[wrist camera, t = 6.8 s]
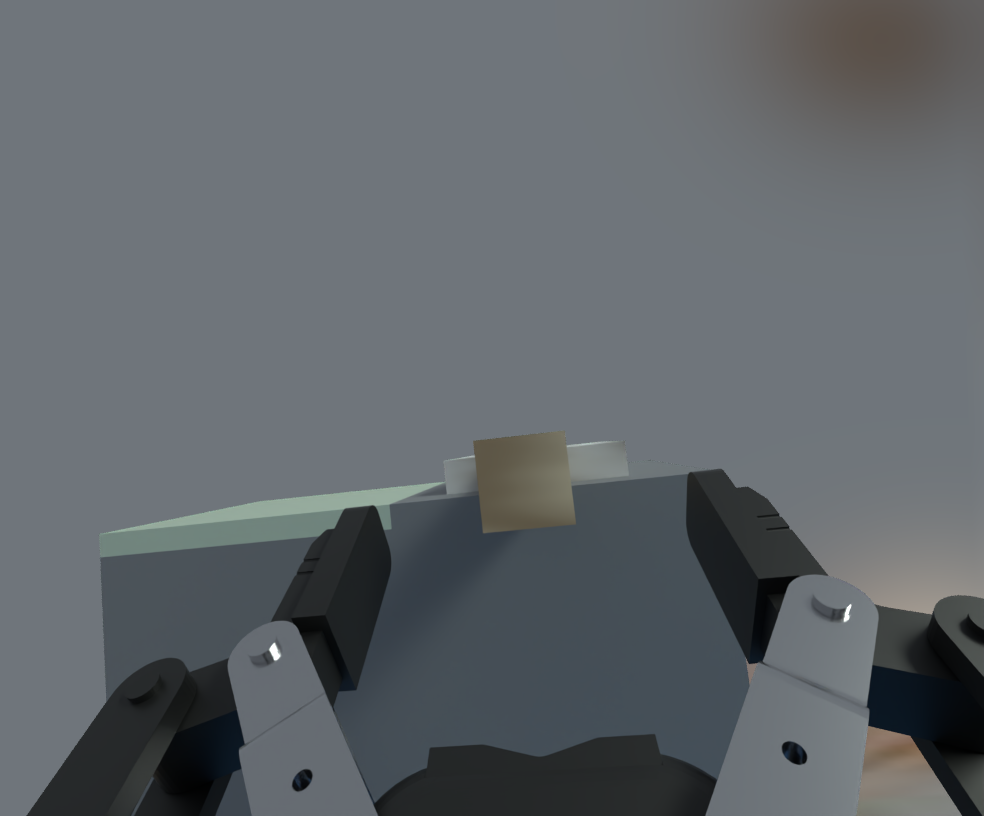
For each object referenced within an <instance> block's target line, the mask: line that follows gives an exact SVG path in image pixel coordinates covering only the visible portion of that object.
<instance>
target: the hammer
mask: <svg viewBox="0 0 984 816" xmlns="http://www.w3.org/2000/svg"><path fill="white" fill-rule="evenodd" d="M473 443H474V453H475V456H469V457H463V458H458V459H451V460H446V461H444V470H445V481H446V491H447V494H457V493H466V492H476V491H479V499H480V509H481V518H482V527H483V533H490V532H501V531H511V530H522V529H533V528H543V527H554V526H564V525H575V524H576V519H575V511H574V503H573V495H572V487H571V482H573V481H583V480H593V479H602V478H612V477H622V476H629V470H628V463H627V456H626V449H625V441H610V442H594V443H585V444H576V445H567V446H566V438H565V431H557V432H548V433H540V434H530V435H522V436H513V437H504V438H496V439H487V440H478V441H473Z"/></svg>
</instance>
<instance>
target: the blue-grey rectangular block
mask: <svg viewBox="0 0 984 816" xmlns="http://www.w3.org/2000/svg"><path fill="white" fill-rule="evenodd" d="M628 470H629V476H622V477H612V478H602V479H593V480H583V481H573V482H571V487H572V495H573V503H574V511H575V519H576V524H575V525H564V526H554V527H543V528H533V529H522V530H511V531H501V532H490V533H483V527H482V518H481V509H480V499H479V491H476V492H466V493H457V494H447V491H446V482H440V483H430V484H421V485H412V486H402V487H392V488H383V489H374V490H364V491H354V492H346V493H337V494H326V495H317V496H308V497H298V498H288V499H279V500H269V501H260V502H255V503H250V504H245V505H240V506H235V507H230V508H225V509H221V510H215V511H210V512H206V513H201V514H196V515H191V516H186V517H181V518H177V519H172V520H166V521H161V522H156V523H151V524H147V525H142V526H137V527H132V528H127V529H122V530H117V531H113V532H107V533H102V534H100V558H101V583H102V607H103V631H104V654H105V678H106V702H107V701H108V699H109V698H110V696H111V695H112V694H113V692H114V691H115V690H116V689H117V687H118V686H119V685H120V684H121V683H122V682H123V681H124V680H125V679H127V678H128V677H129V676H130V675H132V674H133V673H134V672H136V671H137V670H139V669H140V668H142V667H144V666H145V665H147V664H149V663H152V662H154V661H157V660H160V659H164V658H177V659H180V660H181V661H183V662H184V664H185V666H186V667H187V669H188V670H189V672H191V671H194V670H197V669H200V668H202V667H205V666H208V665H211V664H214V663H216V662H219V661H222V660H225V659H227V658H229V657H230V655H231V653H232V651H233V649H234V648H235V647H236V645H237V644H238V643H239V642H240V641H241V640H242V639H243V638H244V637H245V636H246V635H247V634H249V633H250V632H251V631H253V630H255V629H256V628H258V627H260V626H262V625H264V624H267V623H270V622H271V620H272V618H273V616H274V614H275V612H276V610H277V609H278V607H279V605H280V603H281V601H282V599H283V597H284V595H285V593H286V591H287V590H288V588H289V586H290V584H291V582H292V580H293V578H294V576H296V575H297V571H298V569H299V567H300V565H301V563H303V562H304V560H303V559H304V557H305V555H306V554H307V552H308V550H309V548H310V546H311V544H312V543H313V542H314V541H315V540H316V539H317V538H318V537H319V536H320V535H321V534H322V533H323V532H324V531H325V530H326V529H334V528H335V526H336V524H337V522H338V520H339V518H340V516H341V514H342V512H343V510H344V509H345V508H352V507H361V506H370V505H374V506H375V507H376V508H377V510H378V513H379V516H380V519H381V522H382V526H383V529H384V532H385V535H386V539H387V542H388V545H389V548H390V553H391V573H390V577H389V580H388V584H387V587H386V591H385V594H384V597H383V601H382V604H381V608H380V611H379V615H378V618H377V621H376V625H375V628H374V632H373V635H372V639H371V642H370V645H369V649H368V652H367V656H366V659H365V663H364V666H363V669H362V673H361V676H360V680H359V683H358V687H357V690H354V691H341V692H338V694H337V697H336V700H335V703H334V709H335V712H336V714H337V716H338V718H339V721H340V723H341V725H342V728H343V730H344V732H345V734H346V737H347V739H348V741H349V744H350V746H351V748H352V750H353V753H354V755H355V757H356V760H357V762H358V764H359V767H360V769H361V771H362V773H363V776H364V778H365V780H366V783H367V785H368V787H369V789H370V792H371V794H372V796H373V798H374V800H375V802H376V801H377V800H378V799H379V798H380V797H381V796H382V795H383V794H385V793H386V792H387V791H388V790H389V789H391V788H392V787H393V786H394V785H396V784H397V783H399V782H400V781H402V780H403V779H405V778H406V777H408V776H410V775H412V774H414V773H416V772H418V771H420V770H422V769H425V768H427V763H428V756H429V749H430V748H431V747H447V746H464V745H480V744H484V745H488V746H493V747H497V748H501V749H506V750H510V751H515V752H519V753H523V754H528V755H532V756H538V757H541V756H547V755H549V754H552V753H555V752H558V751H561V750H564V749H566V748H569V747H572V746H575V745H578V744H581V743H583V742H586V741H589V740H592V739H595V738H598V737H613V736H630V735H646V734H655V736H656V740H657V744H658V747H659V751H660V754H663V755H667V756H671V757H674V758H677V759H680V760H682V761H685V762H687V763H690V764H692V765H694V766H696V767H698V768H700V769H702V770H703V771H705V772H707V773H708V774H710V775H711V776H713V777H715V778H716V779H717V780H718V777H719V774H720V771H721V768H722V765H723V763H724V760H725V757H726V754H727V751H728V748H729V745H730V742H731V739H732V736H733V733H734V730H735V727H736V724H737V721H738V718H739V716H740V713H741V710H742V707H743V704H744V701H745V698H746V695H747V692H748V689H749V686H750V685H749V678H748V672H747V665H746V659H745V655H744V653H743V651H742V649H741V647H740V645H739V643H738V641H737V639H736V637H735V635H734V633H733V631H732V628H731V626H730V624H729V622H728V620H727V618H726V616H725V614H724V612H723V610H722V608H721V606H720V604H719V602H718V600H717V598H716V596H715V594H714V592H713V590H712V588H711V586H710V584H709V582H708V580H707V578H706V576H705V573H704V571H703V569H702V567H701V565H700V563H699V561H698V559H697V557H696V555H695V553H694V551H693V549H692V547H691V544H690V541H689V538H688V534H687V528H686V503H687V477H688V474H689V472H695V471H704V470H708V469H701V468H696V467H688V466H683V465H677V464H670V463H664V462H657V461H651V460H648V461H640V462H629V463H628ZM153 779H154V778H153V777H152V778H151V779H150V781H149V783H148V785H147V787H146V789H145V791H144V792H143V794H142V796H141V798H140V800H139V802H138V804H137V805H136V807H135V809H134V811H133V813H132V815H131V816H134V815H135V813H136V811H137V809H138V807H139V805H140V804H141V802H142V800H143V798H144V796H145V794H146V792H147V790H148V789H149V787H150V785H151V783H152V781H153ZM215 816H252V814H251V809H250V805H249V800H248V795H247V791H246V786H245V781H244V777H243V772H242V769H240V770H237V771H235V772H233V774H232V776H231V779H230V781H229V783H228V786H227V788H226V791H225V793H224V796H223V798H222V801H221V803H220V806H219V808H218V810H217V813H216V815H215Z"/></svg>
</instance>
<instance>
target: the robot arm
mask: <svg viewBox="0 0 984 816" xmlns="http://www.w3.org/2000/svg"><path fill="white" fill-rule="evenodd" d="M686 528H687V534H688V538H689V541H690V544H691V547H692V549H693V551H694V553H695V555H696V557H697V559H698V561H699V563H700V565H701V567H702V569H703V571H704V573H705V576H706V578H707V580H708V582H709V584H710V586H711V588H712V590H713V592H714V594H715V596H716V598H717V600H718V602H719V604H720V606H721V608H722V610H723V612H724V614H725V616H726V618H727V620H728V622H729V624H730V626H731V628H732V631H733V633H734V635H735V637H736V639H737V641H738V643H739V645H740V647H741V649H742V651H743V653H744V655H745V657H746V659H747V661H748V663H749V664H753V663H758V664H757V666H756V669H755V672H754V674H753V677H752V681H751V684H750V686H749V689H748V692H747V695H746V698H745V701H744V704H743V707H742V710H741V713H740V716H739V718H738V721H737V724H736V727H735V730H734V733H733V736H732V739H731V742H730V745H729V748H728V751H727V754H726V757H725V760H724V763H723V765H722V768H721V771H720V774H719V777H718V780H717V779H716V778H715V777H713V776H711V775H710V774H708V773H707V772H705V771H703V770H702V769H700V768H698V767H696V766H694V765H692V764H690V763H687V762H685V761H682V760H680V759H677V758H674V757H671V756H667V755H663V754H660V751H659V747H658V744H657V740H656V736H655V734H646V735H630V736H613V737H598V738H595V739H592V740H589V741H586V742H583V743H581V744H578V745H575V746H572V747H569V748H566V749H564V750H561V751H558V752H555V753H552V754H549V755H547V756H541V757H538V756H532V755H528V754H523V753H519V752H515V751H510V750H506V749H501V748H497V747H493V746H488V745H484V744H480V745H464V746H447V747H431V748H430V749H429V756H428V763H427V768H425V769H422V770H420V771H418V772H416V773H414V774H412V775H410V776H408V777H406V778H405V779H403V780H402V781H400V782H399V783H397V784H396V785H394V786H393V787H392V788H391V789H389V790H388V791H387V792H386V793H385V794H383V795H382V796H381V797H380V798H379V799H378V800H377V801H376V802H375V800H374V798H373V796H372V794H371V792H370V789H369V787H368V785H367V783H366V780H365V778H364V776H363V773H362V771H361V769H360V767H359V764H358V762H357V760H356V757H355V755H354V753H353V750H352V748H351V746H350V744H349V741H348V739H347V737H346V734H345V732H344V730H343V728H342V725H341V723H340V721H339V718H338V716H337V714H336V712H335V709H334V703H335V700H336V697H337V694H338V692H341V691H354V690H357V687H358V683H359V680H360V676H361V673H362V669H363V666H364V663H365V659H366V656H367V652H368V649H369V645H370V642H371V639H372V635H373V632H374V628H375V625H376V621H377V618H378V615H379V611H380V608H381V604H382V601H383V597H384V594H385V591H386V587H387V584H388V580H389V577H390V573H391V553H390V548H389V545H388V542H387V539H386V535H385V532H384V529H383V526H382V522H381V519H380V516H379V513H378V510H377V508H376V507H375V506H374V505H370V506H361V507H352V508H345V509H344V510H343V512H342V514H341V516H340V518H339V520H338V522H337V524H336V526H335V528H334V529H326V530H325V531H324V532H323V533H322V534H321V535H320V536H319V537H318V538H317V539H316V540H315V541H314V542H313V543H312V544H311V546H310V548H309V550H308V552H307V554H306V555H305V557H304V559H303V560H304V562H303V563H301V565H300V567H299V569H298V571H297V575H296V576H294V578H293V580H292V582H291V584H290V586H289V588H288V590H287V591H286V593H285V595H284V597H283V599H282V601H281V603H280V605H279V607H278V609H277V610H276V612H275V614H274V616H273V618H272V620H271V622H270V623H267V624H264V625H262V626H260V627H258V628H256V629H255V630H253V631H251V632H250V633H249V634H247V635H246V636H245V637H244V638H243V639H242V640H241V641H240V642H239V643H238V644H237V645H236V647H235V648H234V649H233V651H232V653H231V655H230V657H229V658H227V659H225V660H222V661H219V662H216V663H214V664H211V665H208V666H205V667H202V668H200V669H197V670H194V671H191V672H189V670H188V669H187V667H186V666H185V664H184V662H183V661H181V660H180V659H177V658H164V659H160V660H157V661H154V662H152V663H149V664H147V665H145V666H144V667H142V668H140V669H139V670H137V671H136V672H134V673H133V674H132V675H130V676H129V677H128V678H127V679H125V680H124V681H123V682H122V683H121V684H120V685H119V686H118V687H117V689H116V690H115V691H114V692H113V694H112V695H111V696H110V698H109V699H108V701H107V702H106V703H105V705H104V706H103V708H102V709H101V711H100V712H99V713H98V715H97V716H96V718H95V719H94V721H93V722H92V723H91V725H90V726H89V728H88V729H87V731H86V732H85V733H84V735H83V736H82V738H81V739H80V741H79V742H78V744H77V745H76V746H75V748H74V749H73V750H72V752H71V753H70V755H69V756H68V758H67V759H66V760H65V762H64V763H63V765H62V766H61V768H60V769H59V770H58V772H57V773H56V775H55V776H54V778H53V779H52V780H51V782H50V783H49V785H48V786H47V787H46V789H45V790H44V792H43V793H42V795H41V796H40V797H39V799H38V801H37V802H36V803H35V805H34V806H33V807H32V809H31V810H30V812H29V813H28V815H27V816H131V815H132V813H133V811H134V809H135V807H136V805H137V804H138V802H139V800H140V798H141V796H142V794H143V792H144V791H145V789H146V787H147V785H148V783H149V781H150V779H151V778H152V777H153V778H154V779H153V781H152V783H151V785H150V787H149V789H148V790H147V792H146V794H145V796H144V798H143V800H142V802H141V804H140V805H139V807H138V809H137V811H136V813H135V815H134V816H215V815H216V813H217V810H218V808H219V806H220V803H221V801H222V798H223V796H224V793H225V791H226V788H227V786H228V783H229V781H230V779H231V776H232V774H233V772H235V771H237V770H240V769H242V772H243V777H244V781H245V786H246V791H247V795H248V800H249V805H250V809H251V814H252V816H856V814H857V806H858V798H859V791H860V783H861V775H862V768H863V760H864V752H865V745H866V737H867V729H868V726H871V727H875V728H880V729H884V730H888V731H892V732H897V733H901V734H905V735H909V736H911V738H912V739H913V741H914V742H915V744H916V745H917V747H918V748H919V750H920V751H921V753H922V755H923V756H924V758H925V759H926V761H927V762H928V764H929V765H930V767H931V768H932V770H933V771H934V773H935V775H936V776H937V778H938V779H939V781H940V782H941V784H942V785H943V787H944V788H945V790H946V791H947V793H948V795H949V796H950V798H951V799H952V801H953V802H954V804H955V805H956V807H957V808H958V810H959V811H960V813H961V815H962V816H984V599H982V598H977V597H972V596H959V595H958V596H950V597H946V598H944V599H941V600H940V601H939V602H938V603H937V604H936V606H935V608H934V611H933V614H932V615H931V614H924V613H919V612H912V611H906V610H900V609H893V608H888V607H883V606H879V605H875V604H874V603H873V602H872V601H871V599H870V598H869V597H868V596H867V595H866V594H865V593H863V592H862V591H861V590H859V589H858V588H856V587H855V586H853V585H851V584H849V583H847V582H845V581H843V580H840V579H837V578H834V577H830V576H828V575H827V574H826V572H825V571H824V570H823V568H822V567H821V566H820V565H819V563H818V562H817V561H816V560H815V558H814V557H813V556H812V555H811V553H810V552H809V551H808V550H807V548H806V547H805V546H804V545H803V543H802V542H801V541H800V539H799V538H798V537H797V536H796V534H795V533H794V532H793V531H792V530H790V529H789V526H788V524H787V523H786V522H785V521H784V519H783V518H782V517H780V516H779V513H778V512H777V511H776V509H775V508H774V507H773V506H772V504H771V503H770V502H769V500H768V499H766V498H765V497H764V496H762V495H760V494H759V493H757V492H756V491H754V490H752V489H751V488H749V487H741V488H736V487H735V486H734V484H733V483H732V481H731V480H730V479H729V477H728V476H727V475H726V473H725V472H724V471H723V470H722V469H715V470H704V471H695V472H689V474H688V477H687V503H686Z"/></svg>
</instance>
